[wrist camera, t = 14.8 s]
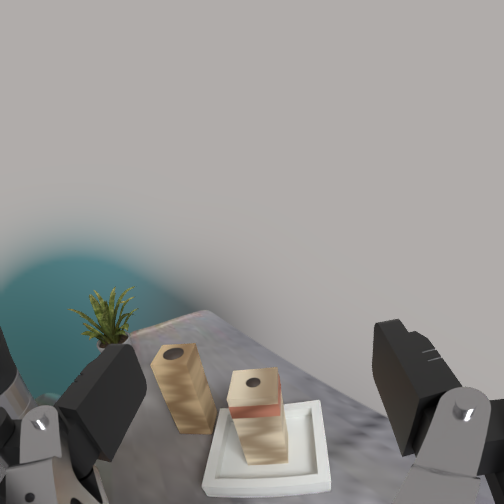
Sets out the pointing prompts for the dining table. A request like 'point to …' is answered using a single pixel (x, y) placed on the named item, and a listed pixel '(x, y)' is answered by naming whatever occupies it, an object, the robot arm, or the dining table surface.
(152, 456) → the dining table surface
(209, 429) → the oak post
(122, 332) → the house plant
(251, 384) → the maple post
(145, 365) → the dining table surface
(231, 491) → the tray
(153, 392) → the dining table surface
